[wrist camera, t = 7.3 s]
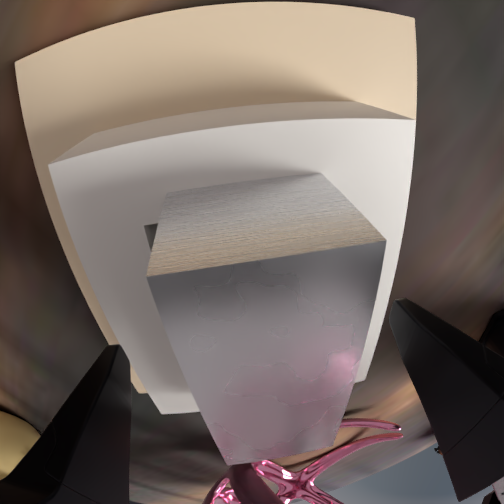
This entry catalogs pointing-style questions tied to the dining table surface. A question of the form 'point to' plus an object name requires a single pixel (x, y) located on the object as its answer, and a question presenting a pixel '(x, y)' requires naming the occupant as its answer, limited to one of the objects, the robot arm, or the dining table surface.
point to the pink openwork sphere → (291, 473)
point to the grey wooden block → (267, 307)
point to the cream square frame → (213, 140)
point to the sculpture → (14, 441)
